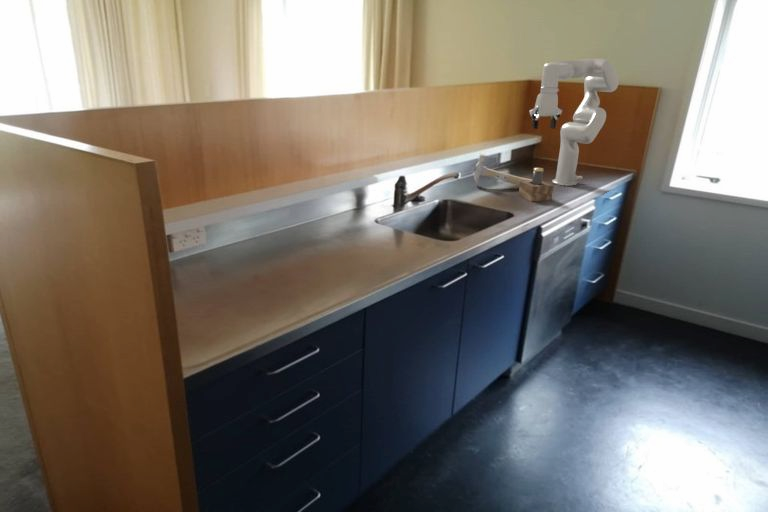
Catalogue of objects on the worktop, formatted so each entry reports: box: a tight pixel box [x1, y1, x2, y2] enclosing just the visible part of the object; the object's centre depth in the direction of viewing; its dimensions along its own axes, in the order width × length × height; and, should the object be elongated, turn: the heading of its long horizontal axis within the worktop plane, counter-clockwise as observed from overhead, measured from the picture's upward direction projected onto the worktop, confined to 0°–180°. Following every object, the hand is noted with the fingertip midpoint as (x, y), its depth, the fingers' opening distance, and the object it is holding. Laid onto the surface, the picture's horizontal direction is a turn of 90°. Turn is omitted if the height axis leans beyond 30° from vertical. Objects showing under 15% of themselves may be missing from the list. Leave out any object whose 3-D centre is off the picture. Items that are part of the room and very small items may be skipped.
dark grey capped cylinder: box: [532, 167, 544, 185], centre depth 249 cm, size 4×4×14 cm
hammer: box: [472, 153, 532, 188], centre depth 268 cm, size 16×5×30 cm
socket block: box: [518, 180, 554, 202], centre depth 251 cm, size 11×11×7 cm
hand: (543, 128), depth 255 cm, fingers open, 9 cm apart
